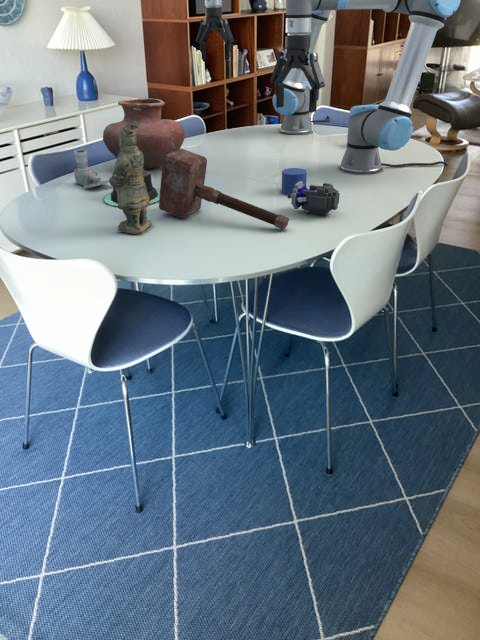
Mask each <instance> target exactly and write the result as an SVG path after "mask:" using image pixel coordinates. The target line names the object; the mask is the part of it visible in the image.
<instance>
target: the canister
mask: <svg viewBox="0 0 480 640" xmlns="http://www.w3.org/2000/svg"><path fill="white" fill-rule="evenodd" d="M307 177H308V171H307V170H306V168H301V167H288V168H284V169H282V170H281V193H282V195H284V196H288V194H292V191H293V189H294V185H295V184H297V183H298V182H299V181H303V184H304V185H306V186H307V179H308V178H307Z"/></svg>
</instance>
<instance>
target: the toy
mask: <svg viewBox="0 0 480 640" xmlns="http://www.w3.org/2000/svg"><path fill="white" fill-rule="evenodd" d="M308 187H309V188H308ZM308 187H307V184H306V185H304V184H303V181H299V182H298V183H297V184H295V185H294V189H293V191H292V194H288V195H287V199H291V200H290V201H291V202H290V203H291V206H292V207H293V210H298V209H299V208H301V210H303V211H306V212H307V214H310V215H311V214H312V215H318V216H326V215H328V213H330V212H331V211H336V210H337V209H338V205H339V204H340V194H341V193H340V190H338V189H337V188H335V187H334V184H332V183H328V182H324V183H322V185H315V184H310V185H309V186H308Z"/></svg>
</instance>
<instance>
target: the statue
mask: <svg viewBox="0 0 480 640" xmlns="http://www.w3.org/2000/svg"><path fill="white" fill-rule="evenodd" d="M138 127H139V123H138V122H137V121H133V122H131V123H128V124H127V125H126V126H125V127H124V128H123V129H121V130H120V133H119V138H118V140H119V147H120V151H119V154H118V156H117V158H116V160H115V164H114V169H113V172H114V175H113V176H112V175H111V176H110V177H109V179H108V180H109V183H108V184H110V186H111V187H112V188H113V187H114V188H115V189H116V192H117V202H118V206H117V209H119V210H122V213H123V214H124V215H125V218H126V219H125V220H122V221H120V222H119V224H118V225H117V231H118V232H121V233H126V234H134V235H136V234H142V233H143V232H145V231H146V230H147V229H148V228H150V227H151V226H152V225H153V223H152V220H150V219H148V216H147V214H148V213H147V212H148V211H147V209H148V206H149V205H150V197H149V195H148V192H147V188H146V184H145V182H144V178H143V169H144V168H143V166H144V156H143V153H142V151H141V150H139V149H138V147H137V146H136V143H137V138H136V131H137V130H138Z"/></svg>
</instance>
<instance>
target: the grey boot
mask: <svg viewBox="0 0 480 640" xmlns="http://www.w3.org/2000/svg"><path fill="white" fill-rule="evenodd" d="M73 152H74V158H75V160H76V166H77V168H74V170H73V171H74V174H73V175H74V179H75V180H74V181H75V183H76V184H78V185H81V186H83V187H82V188H83V189H88V188H95V187H98V186H103V185H106V184H110V183H109V179H107V180H102V177H101V176H99V175H98V171H96V170H93V169H90V168H89V163H88V158H89V157H88V151H87V149H84V148H83V149H82V148H80V149H75V150H74V151H73Z"/></svg>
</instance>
